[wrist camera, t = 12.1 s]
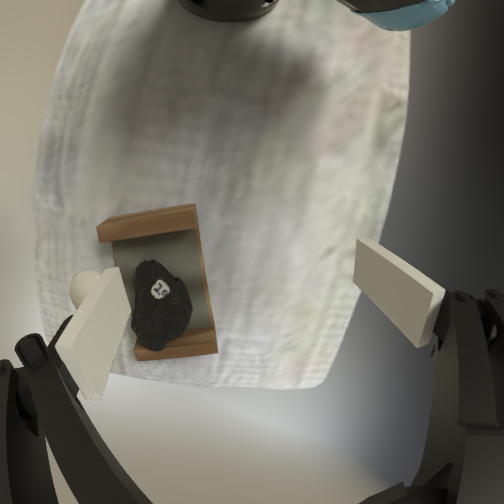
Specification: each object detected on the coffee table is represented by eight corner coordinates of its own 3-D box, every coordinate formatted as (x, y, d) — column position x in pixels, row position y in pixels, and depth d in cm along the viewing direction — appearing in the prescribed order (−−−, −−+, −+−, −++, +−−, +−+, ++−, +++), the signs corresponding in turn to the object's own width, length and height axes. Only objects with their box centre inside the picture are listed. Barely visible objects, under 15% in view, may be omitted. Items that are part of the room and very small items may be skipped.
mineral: (110, 288, 35) (98, 309, 30) (153, 249, 34) (145, 265, 29) (159, 334, 39) (155, 359, 33) (203, 301, 38) (204, 324, 33)
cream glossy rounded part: (64, 274, 35) (62, 276, 34) (107, 265, 36) (105, 267, 35) (82, 318, 38) (81, 321, 37) (123, 312, 38) (122, 315, 38)
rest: (109, 217, 33) (96, 226, 29) (195, 203, 35) (193, 210, 30) (142, 340, 40) (137, 361, 35) (215, 332, 42) (218, 353, 37)
